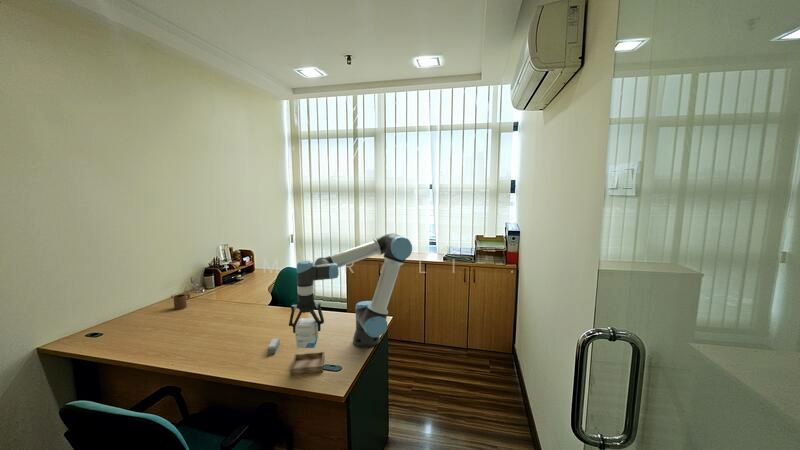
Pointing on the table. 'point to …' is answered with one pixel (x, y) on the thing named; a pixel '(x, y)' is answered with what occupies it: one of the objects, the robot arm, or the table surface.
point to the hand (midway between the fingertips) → (307, 338)
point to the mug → (181, 301)
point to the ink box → (306, 333)
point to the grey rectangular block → (273, 346)
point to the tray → (307, 363)
